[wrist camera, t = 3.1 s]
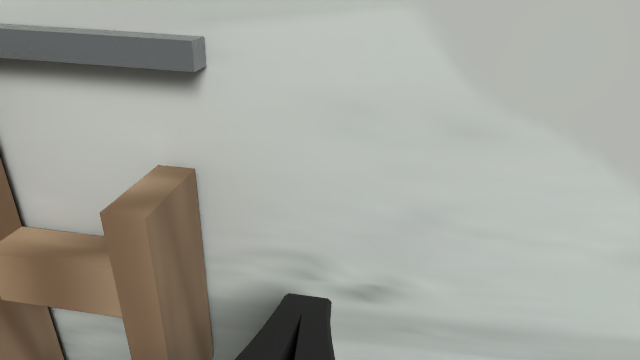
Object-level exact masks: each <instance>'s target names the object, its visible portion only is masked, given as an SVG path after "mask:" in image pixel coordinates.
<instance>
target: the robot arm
mask: <svg viewBox="0 0 640 360" xmlns="http://www.w3.org/2000/svg"><path fill="white" fill-rule="evenodd" d="M330 317H331V301H330V300H329V299H327V298H319V297H312V296H305V295H297V294H290V293H288V294H287V295H285V296H284V298H283V300H282V301H281V303H280V304H279V306H278V307H277V309H276V310H275V312H274V313H273V314H272V316H271V317H270V318H269V320H268V321H267V322H266V324H265V325H264V326H263V328H262V329H261V330H260V331H259V332H258V334H257V335H256V336H255V337H254V339H253V340H252V341H251V342H250V343H249V345H248V346H247V347H246V348H245V349H244V350H243V351H242V352H241V353H240V354H239V356H238V357H237V358H236V359H235V360H335V357H334V351H333V345H332V338H331V327H330Z"/></svg>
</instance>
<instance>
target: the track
mask: <svg viewBox="0 0 640 360" xmlns="http://www.w3.org/2000/svg"><path fill="white" fill-rule="evenodd" d="M0 58H9V59H23V60H36V61H50V62H64V63H77V64H91V65H104V66H118V67H131V68H145V69H159V70H172V71H186V72H196V71H198V70H200V69H202V68H204V67H206V56H205V43H204V37H200V36H185V35H169V34H153V33H137V32H121V31H106V30H90V29H74V28H58V27H42V26H26V25H11V24H0Z"/></svg>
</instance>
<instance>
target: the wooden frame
mask: <svg viewBox="0 0 640 360" xmlns="http://www.w3.org/2000/svg"><path fill="white" fill-rule="evenodd" d="M100 216H101V221H102V226H103V230H104V235H105V237H103V236H95V235H87V234H79V233H71V232H63V231H55V230H47V229H39V228H31V227H23V226H22V225H21V222H20V218H19V215H18V212H17V209H16V206H15V203H14V199H13V196H12V193H11V190H10V187H9V184H8V181H7V177H6V174H5V171H4V168H3V165H2V162H1V158H0V360H64V357H63V354H62V351H61V348H60V345H59V342H58V338H57V335H56V332H55V329H54V326H53V323H52V319H51V316H50V313H49V310H48V307H54V308H60V309H67V310H74V311H80V312H87V313H94V314H101V315H107V316H114V317H121V318H123V322H124V326H125V331H126V335H127V340H128V344H129V349H130V354H131V358H132V360H211V359H212V357H213V345H212V335H211V325H210V315H209V304H208V294H207V284H206V274H205V264H204V254H203V244H202V234H201V224H200V214H199V204H198V194H197V184H196V174H195V169H191V168H182V167H172V166H162V165H158V166H157V167H155V168H154V169H153V170H152V171H151V172H149V173H148V174H147V175H146V176H144V177H143V178H142V179H141V180H140V181H138V182H137V183H136V184H135V185H133V186H132V187H131V188H130V189H129V190H127V191H126V192H125V193H124V194H122V195H121V196H120V197H119V198H118V199H116V200H115V201H114V202H113V203H111V204H110V205H109V206H108V207H106V208H105V209H104V210H103V211H102V212H100Z"/></svg>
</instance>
